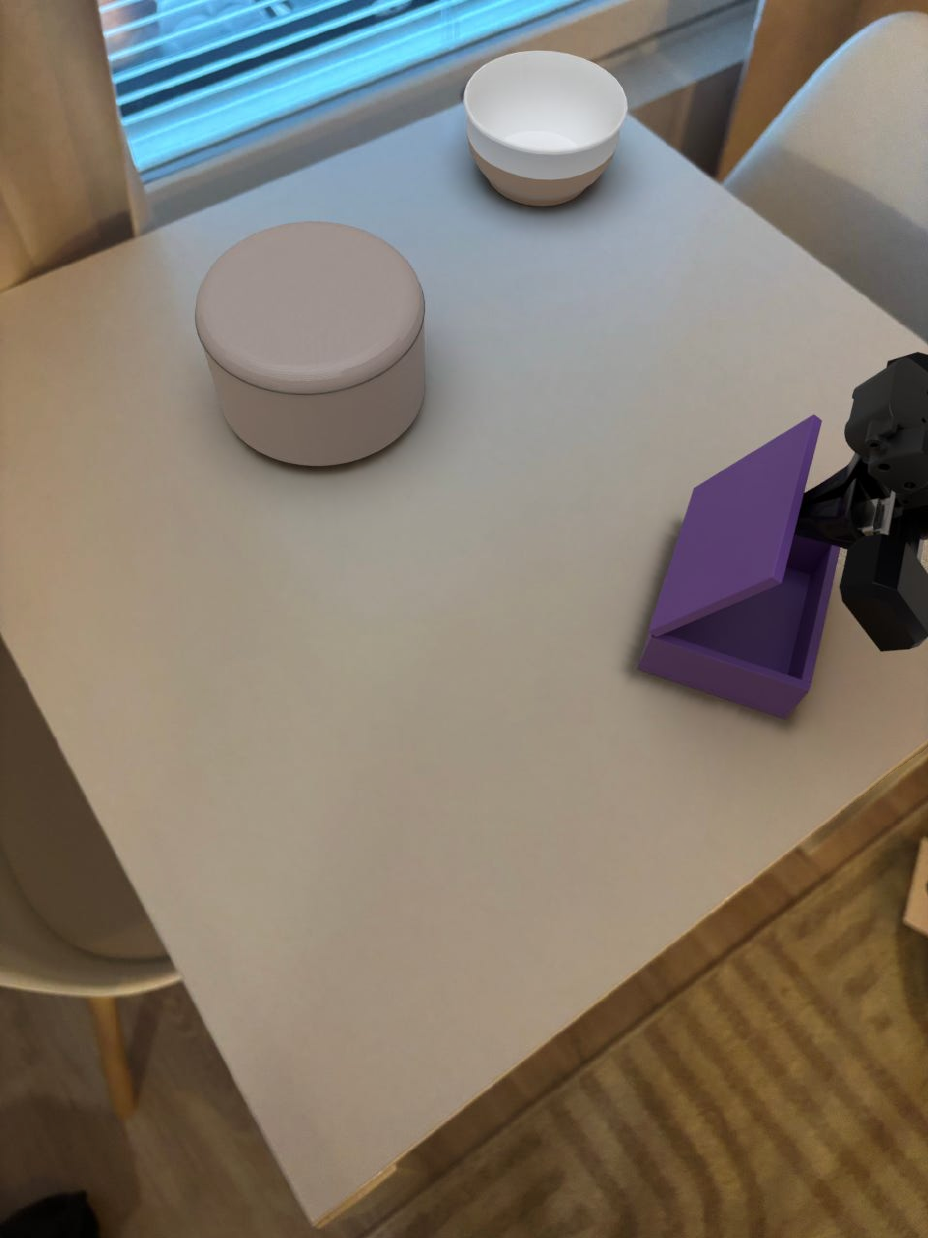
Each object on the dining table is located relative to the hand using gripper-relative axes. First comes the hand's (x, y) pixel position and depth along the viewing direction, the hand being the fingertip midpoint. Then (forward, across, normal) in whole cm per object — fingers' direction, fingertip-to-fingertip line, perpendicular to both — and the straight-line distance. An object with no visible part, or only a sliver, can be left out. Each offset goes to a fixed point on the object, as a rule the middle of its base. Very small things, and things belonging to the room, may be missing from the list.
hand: (774, 521), depth 62 cm
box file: (+9, 0, +10) cm, 13 cm away
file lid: (+3, 0, 0) cm, 3 cm away
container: (+36, -9, -17) cm, 41 cm away
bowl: (+31, -45, -12) cm, 56 cm away
